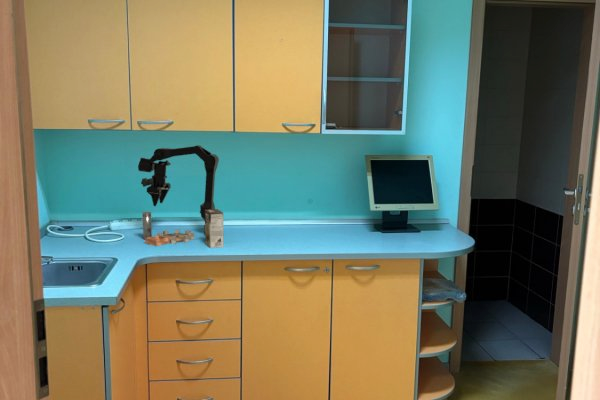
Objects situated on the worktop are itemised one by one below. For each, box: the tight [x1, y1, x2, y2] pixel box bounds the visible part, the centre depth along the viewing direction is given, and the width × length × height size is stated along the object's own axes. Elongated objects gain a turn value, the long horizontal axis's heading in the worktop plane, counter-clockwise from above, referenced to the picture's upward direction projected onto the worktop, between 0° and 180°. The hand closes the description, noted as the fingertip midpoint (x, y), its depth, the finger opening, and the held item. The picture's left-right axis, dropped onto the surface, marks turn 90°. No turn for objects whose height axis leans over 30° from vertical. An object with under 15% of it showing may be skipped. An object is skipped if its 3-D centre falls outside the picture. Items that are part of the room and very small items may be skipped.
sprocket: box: [144, 229, 195, 247], centre depth 277 cm, size 23×17×3 cm
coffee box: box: [204, 208, 224, 249], centre depth 266 cm, size 9×6×16 cm
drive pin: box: [141, 211, 153, 241], centre depth 278 cm, size 4×4×13 cm
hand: (157, 204), depth 291 cm, fingers open, 9 cm apart
